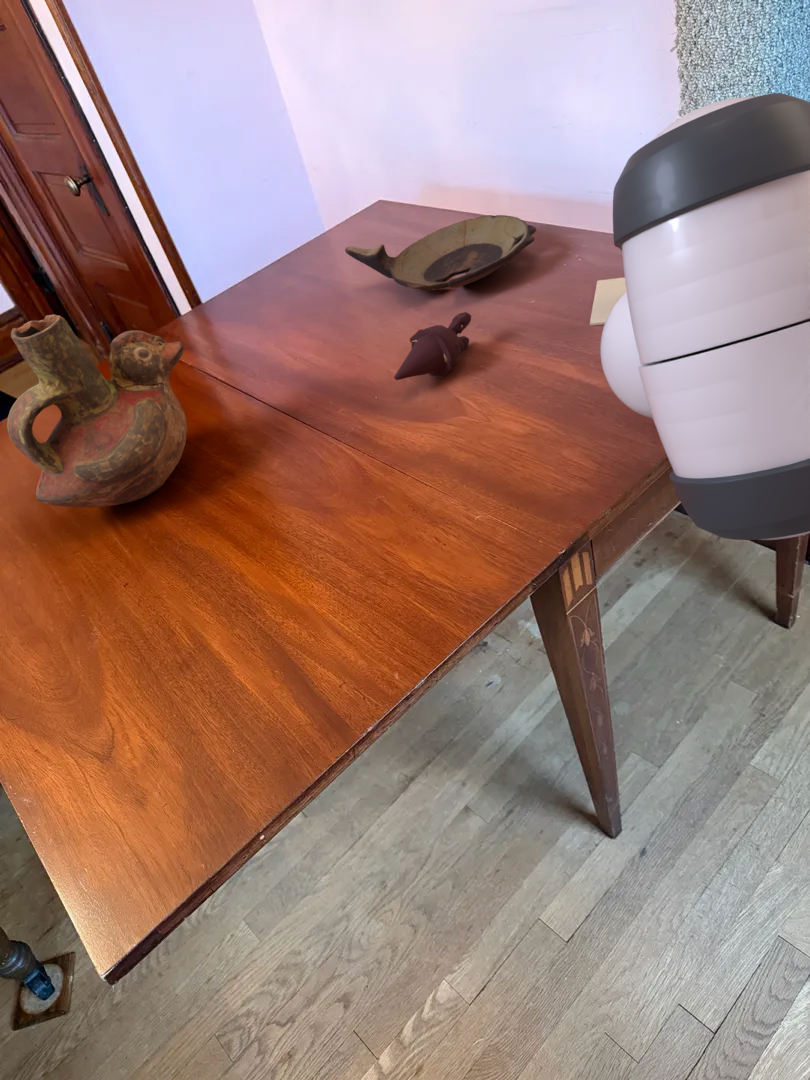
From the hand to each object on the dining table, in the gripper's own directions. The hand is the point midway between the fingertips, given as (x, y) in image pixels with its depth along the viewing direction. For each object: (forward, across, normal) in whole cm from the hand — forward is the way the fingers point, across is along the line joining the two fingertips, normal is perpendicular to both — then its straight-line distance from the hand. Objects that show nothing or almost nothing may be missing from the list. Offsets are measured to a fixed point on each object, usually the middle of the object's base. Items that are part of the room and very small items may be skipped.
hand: (733, 219), depth 85 cm
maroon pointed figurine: (+26, +27, +13) cm, 40 cm away
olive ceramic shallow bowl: (+48, +7, +13) cm, 50 cm away
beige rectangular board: (+12, -1, +13) cm, 18 cm away
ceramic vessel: (+42, +67, +13) cm, 80 cm away
